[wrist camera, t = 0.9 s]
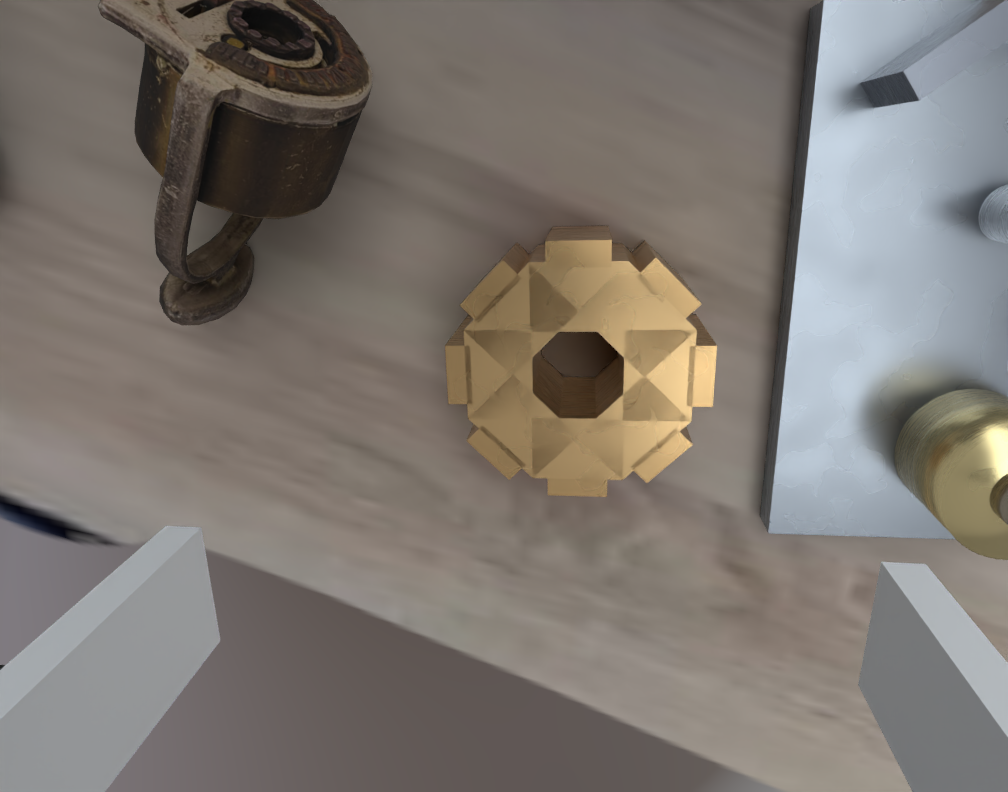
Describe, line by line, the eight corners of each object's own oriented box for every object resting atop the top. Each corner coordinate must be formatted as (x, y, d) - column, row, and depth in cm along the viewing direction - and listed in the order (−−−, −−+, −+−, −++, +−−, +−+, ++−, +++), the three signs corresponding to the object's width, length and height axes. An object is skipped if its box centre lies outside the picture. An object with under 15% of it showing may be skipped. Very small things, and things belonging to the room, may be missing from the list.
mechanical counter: (431, 30, 26) (344, -40, 17) (359, 345, 31) (258, 429, 21) (248, -27, 26) (60, -129, 17) (202, 295, 31) (33, 357, 21)
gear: (463, 228, 28) (438, 242, 24) (701, 223, 27) (724, 237, 23) (473, 442, 31) (453, 493, 27) (687, 446, 30) (706, 499, 26)
